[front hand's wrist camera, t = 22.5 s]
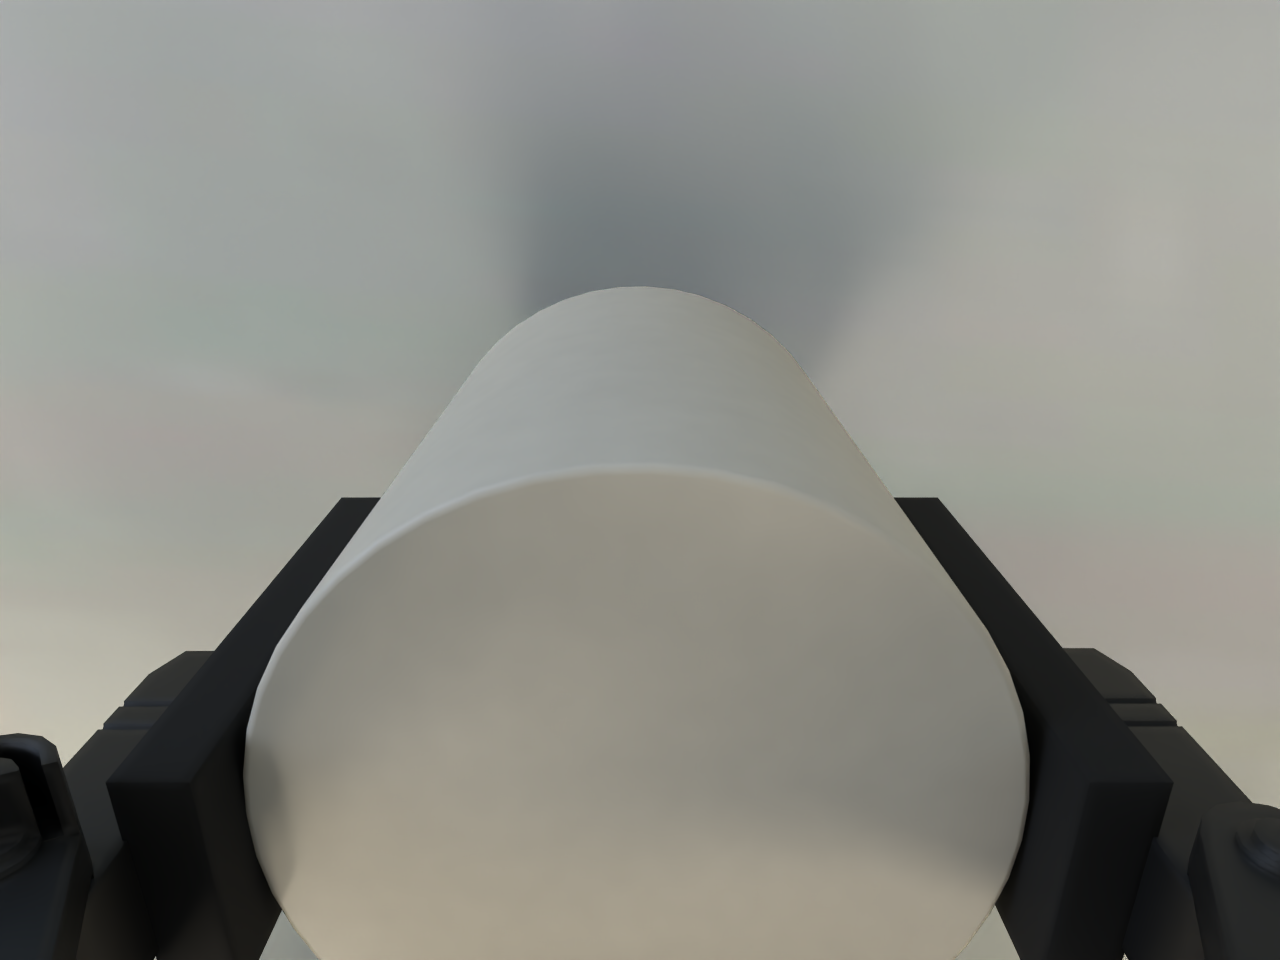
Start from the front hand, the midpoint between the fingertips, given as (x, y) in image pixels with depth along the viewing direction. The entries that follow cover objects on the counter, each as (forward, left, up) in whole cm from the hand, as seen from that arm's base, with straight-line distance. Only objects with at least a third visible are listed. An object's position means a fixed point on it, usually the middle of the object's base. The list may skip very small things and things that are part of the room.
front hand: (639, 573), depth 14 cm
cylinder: (0, 0, -4) cm, 4 cm away
